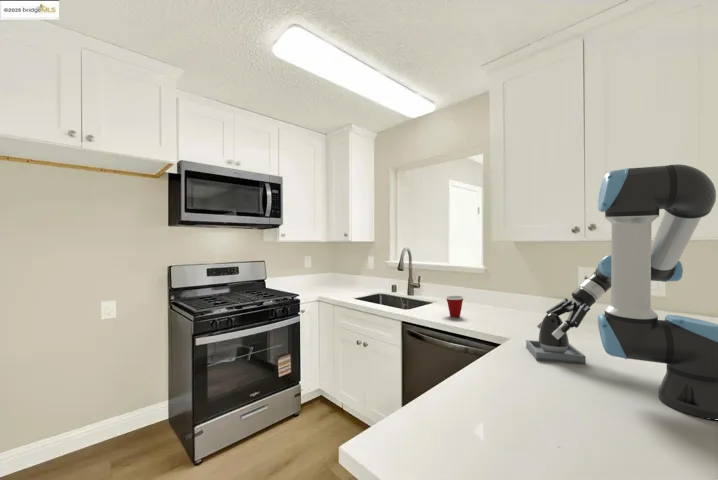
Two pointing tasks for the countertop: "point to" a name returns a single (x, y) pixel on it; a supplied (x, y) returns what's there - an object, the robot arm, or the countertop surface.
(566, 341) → the black egg-shaped dome
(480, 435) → the countertop surface
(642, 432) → the countertop surface
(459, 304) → the plastic cup
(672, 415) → the countertop surface
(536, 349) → the tray
